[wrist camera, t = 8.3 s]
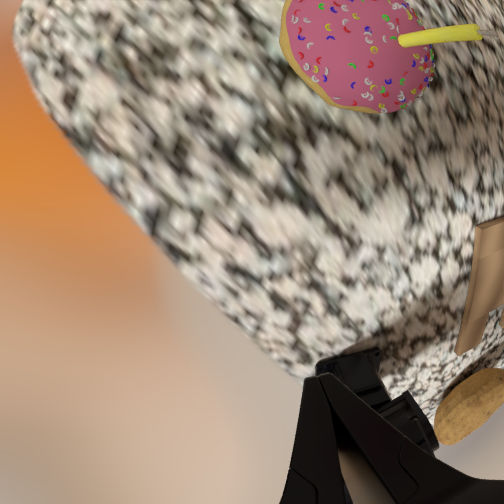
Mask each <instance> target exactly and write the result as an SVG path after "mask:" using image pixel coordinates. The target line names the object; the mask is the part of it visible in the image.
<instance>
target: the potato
mask: <svg viewBox="0 0 504 504" xmlns="http://www.w3.org/2000/svg"><path fill="white" fill-rule="evenodd" d="M503 402H504V370H503V369H500V368H485V369H481V370H479V371H478V372H476V373H474V374H473V375H471V376H470V377H468V378H467V379H465V380H464V381H462V382H461V383H459V384H458V385H457V386H456V387H455V388H454V389H453V390H452V391H451V392H450V393H449V394H448V395H447V396H446V397H445V399H444V400H443V401H442V402H441V404H440V405H439V407H438V408H437V411H436V415H435V419H434V432H435V434H436V437H437V440H438V441H440V442H441V443H442V444H444V445H453V444H455V443H457V442H459V441H460V440H462V439H463V438H464V437H466V436H467V435H469V434H470V433H471V432H473V431H474V430H476V429H477V428H479V427H480V426H482V424H483V423H485V422H486V421H487V419H489V417H490V416H491V415H492V414H493V413H494V412H495V411H496V410H497V409H498V408H499V407H500V406H501V405H502V404H503Z"/></svg>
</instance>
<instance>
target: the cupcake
mask: <svg viewBox="0 0 504 504" xmlns="http://www.w3.org/2000/svg"><path fill="white" fill-rule="evenodd" d="M482 35H486V36H496V37H498V36H499V35H498V33H497V32H495V31H492V30H480V28H479V27H478V25H476V24H465V25H455V26H448V27H441V28H434V29H428V30H425V29H424V27H423V22H422V21H421V20H420V19H419V18H418V17H417V14H416V13H415V12H414V10H413V9H412V8H411V6H410V4H408V3H406V1H405V0H286V1H285V4H284V7H283V11H282V18H281V32H280V38H279V43H280V47H281V49H282V52H283V54H284V57H285V58H286V60H287V61H288V63H289V64H290V66H291V67H292V68H293V69H294V71H295V72H296V73H297V74H298V75H299V76H300V77H301V78H302V79H303V80H304V82H305V83H306V84H307V85H308V86H309V87H310V88H312V89H313V90H314V91H315V92H316V93H317V94H318V95H319V96H320V97H321V98H322V99H323V100H324V101H325V102H326V103H328V104H329V105H331V106H334V107H338V108H344V109H348V110H353V111H358V112H366V113H390V112H394V111H397V110H400V109H403V108H405V107H407V106H408V105H410V104H411V103H413V102H414V101H415V100H417V99H420V98H418V97H419V96H420V97H421V96H423V92H424V90H425V88H426V87H428V88H429V81H432V80H433V78H431V76H432V75H434V74H431V73H433V72H434V69H433V68H435V64H434V63H433V62H434V60H433V57H434V53H433V52H432V44H434V43H444V42H455V41H471V40H482ZM432 64H433V65H434V66H433V65H432ZM432 66H433V67H432ZM432 69H433V71H432ZM431 71H432V72H431Z"/></svg>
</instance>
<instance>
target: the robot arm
mask: <svg viewBox="0 0 504 504" xmlns="http://www.w3.org/2000/svg"><path fill="white" fill-rule="evenodd" d="M381 355H382V351H381V349H380V348H379V347H377V348H373V349H370V350H366V351H363V352H359V353H355V354H352V355H348V356H344V357H340V358H336V359H332V360H328V361H323V362H320V363H318V364H316V366H315V376H311V377H307V378H305V379H304V385H303V392H302V399H301V405H300V412H299V418H298V423H297V430H296V435H295V441H294V446H293V452H292V457H291V462H290V466H289V470H288V475H287V480H286V484H285V488H284V491H283V495H282V498H281V501H280V503H279V504H504V480H486V479H478V478H474V477H471V476H468V475H466V474H464V473H462V472H460V471H458V470H456V469H455V468H453V467H451V466H449V465H447V464H446V463H444V462H442V461H440V460H438V459H437V458H436V457H435V455H434V453H433V452H434V451H435V450H437V449H438V448H439V443H438V440H437V437H436V434H435V432H434V430H433V428H432V426H431V424H430V422H429V420H428V419H427V417H426V416H425V414H424V413H423V411H422V410H421V408H420V407H419V406H418V404H417V403H416V401H415V400H414V398H413V397H412V396H411V394H410V393H409V391H408V390H407V391H405V392H403V393H402V395H400V396H399V397H397V398H395V399H393V400H392V398H391V397H390V395H389V393H388V391H387V389H386V387H385V385H384V384H383V382H382V380H381V378H380V376H379V374H378V370H379V365H380V360H381ZM320 367H321V368H320Z"/></svg>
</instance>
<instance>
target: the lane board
mask: <svg viewBox="0 0 504 504" xmlns="http://www.w3.org/2000/svg"><path fill="white" fill-rule="evenodd" d="M502 304H504V216H503V217H500V218H497V219H494V220H492V221H489V222H486V223H483V224H480V225H477V226H476V228H475V242H474V252H473V261H472V269H471V276H470V283H469V289H468V294H467V300H466V305H465V310H464V314H463V319H462V323H461V327H460V331H459V335H458V339H457V343H456V346H455V350H454V352H455V353H456V354H457V356H460V355H461V354H463V353H465V352H467V351H468V350H470V349H472V348H473V347H475V346H477V345H478V344H480V342H481V339H482V336H483V333H484V329H485V326H486V323H487V319H488V316H489V312H491V311H492V310H494V309H496V308H497V307H499V306H500V305H502ZM499 325H500V326H501V327H502V328H504V309H503V313H502V316H501V319H500V322H499Z"/></svg>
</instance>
